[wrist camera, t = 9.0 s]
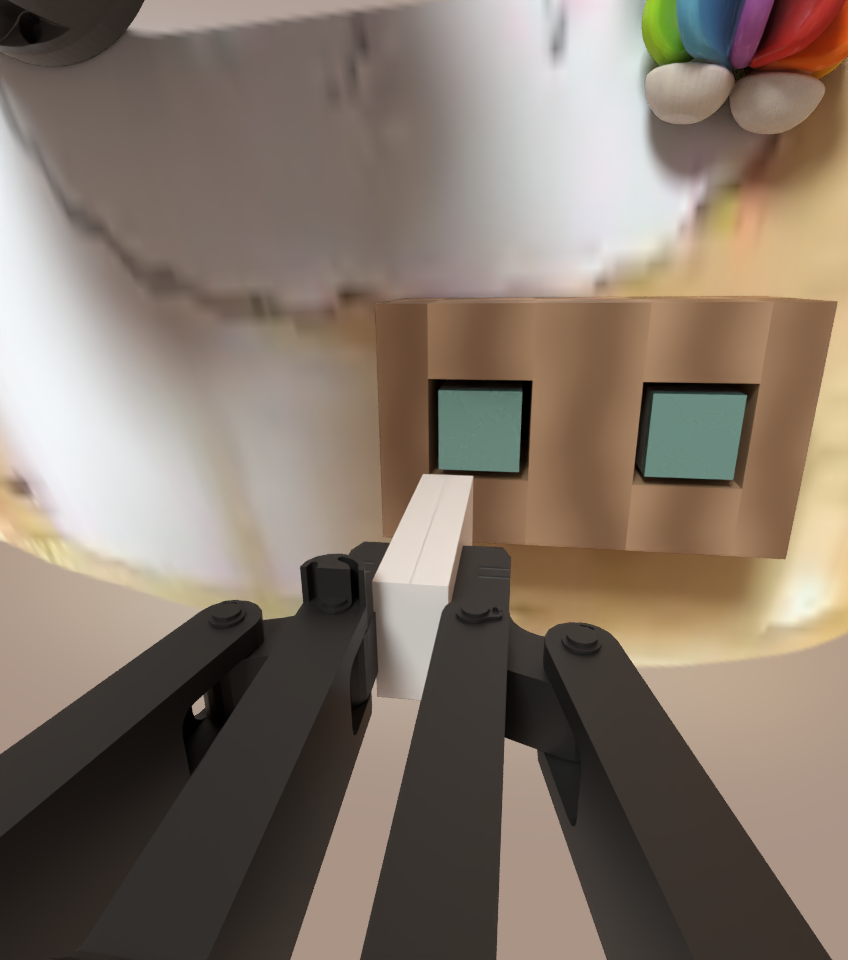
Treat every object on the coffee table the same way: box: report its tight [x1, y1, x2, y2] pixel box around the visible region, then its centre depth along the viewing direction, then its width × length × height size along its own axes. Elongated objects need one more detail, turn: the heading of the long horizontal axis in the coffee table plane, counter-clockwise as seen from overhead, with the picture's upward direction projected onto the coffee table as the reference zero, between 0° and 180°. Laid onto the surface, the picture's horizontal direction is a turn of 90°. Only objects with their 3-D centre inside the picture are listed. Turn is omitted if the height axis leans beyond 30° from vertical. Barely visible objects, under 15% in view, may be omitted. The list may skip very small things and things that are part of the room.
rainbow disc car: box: [642, 0, 848, 134], centre depth 26 cm, size 8×10×7 cm
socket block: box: [375, 296, 837, 559], centre depth 32 cm, size 20×12×8 cm, turn 91°
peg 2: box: [635, 382, 747, 480], centre depth 31 cm, size 4×4×8 cm
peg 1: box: [438, 379, 522, 472], centre depth 33 cm, size 4×4×8 cm
